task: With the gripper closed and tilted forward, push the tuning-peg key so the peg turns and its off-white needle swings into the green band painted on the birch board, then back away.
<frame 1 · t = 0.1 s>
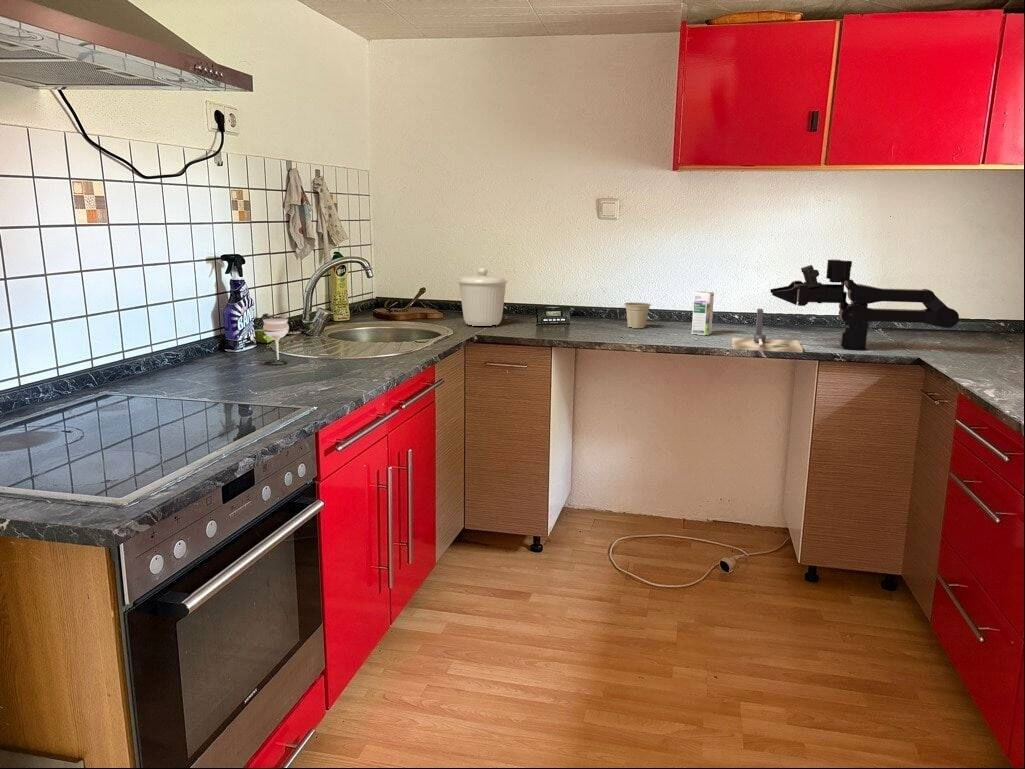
hand: (771, 292, 240), 17 cm above the worktop, tool horizontal, fingers open, 9 cm apart
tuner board: (759, 345, 241), on the worktop
peg: (760, 326, 241), point 6 cm above the worktop, hinge at 0.0°
canister: (482, 325, 282), on the worktop
wineglass: (278, 364, 211), on the worktop
syrup box: (701, 334, 264), on the worktop
flower pot: (636, 328, 278), on the worktop
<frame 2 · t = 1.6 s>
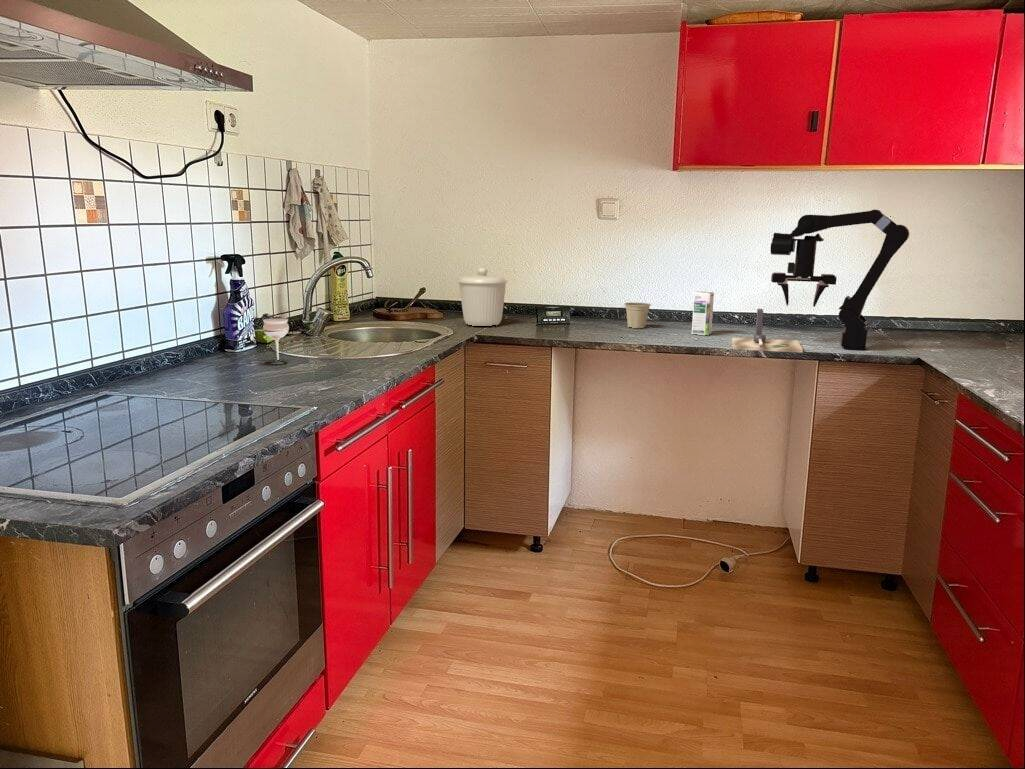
hand: (800, 306, 242), 12 cm above the worktop, tool pointing down, fingers open, 8 cm apart
nothing on the worktop moved.
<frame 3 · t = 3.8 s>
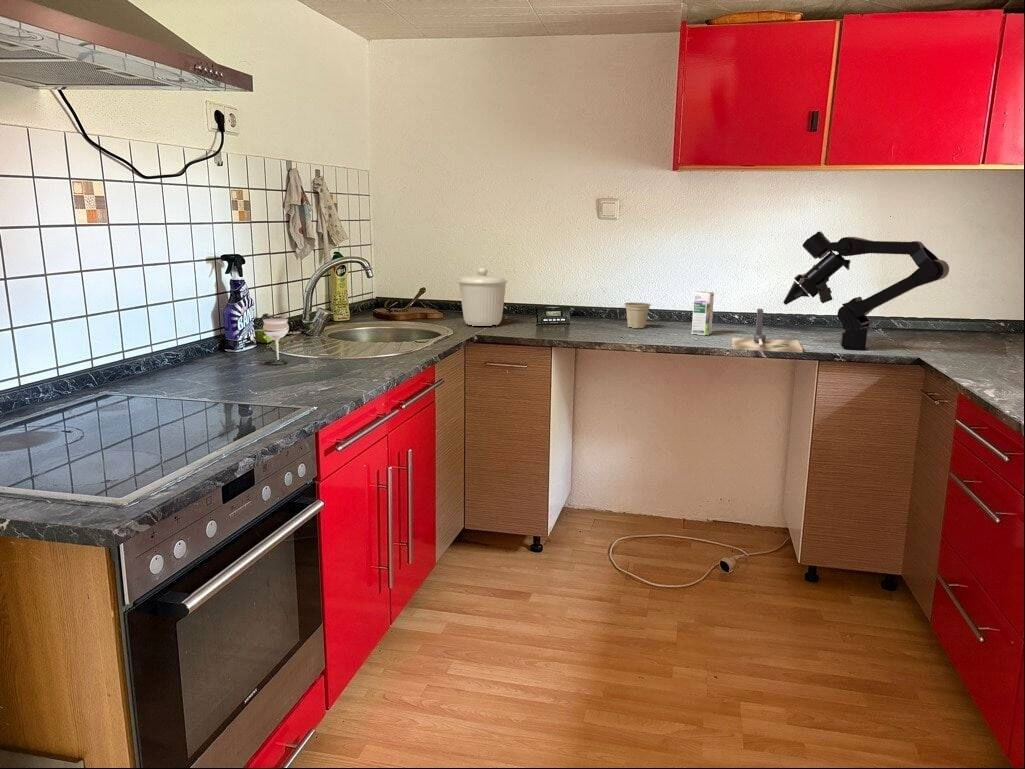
hand: (784, 303, 244), 13 cm above the worktop, tool tilted 45°, fingers closed
nothing on the worktop moved.
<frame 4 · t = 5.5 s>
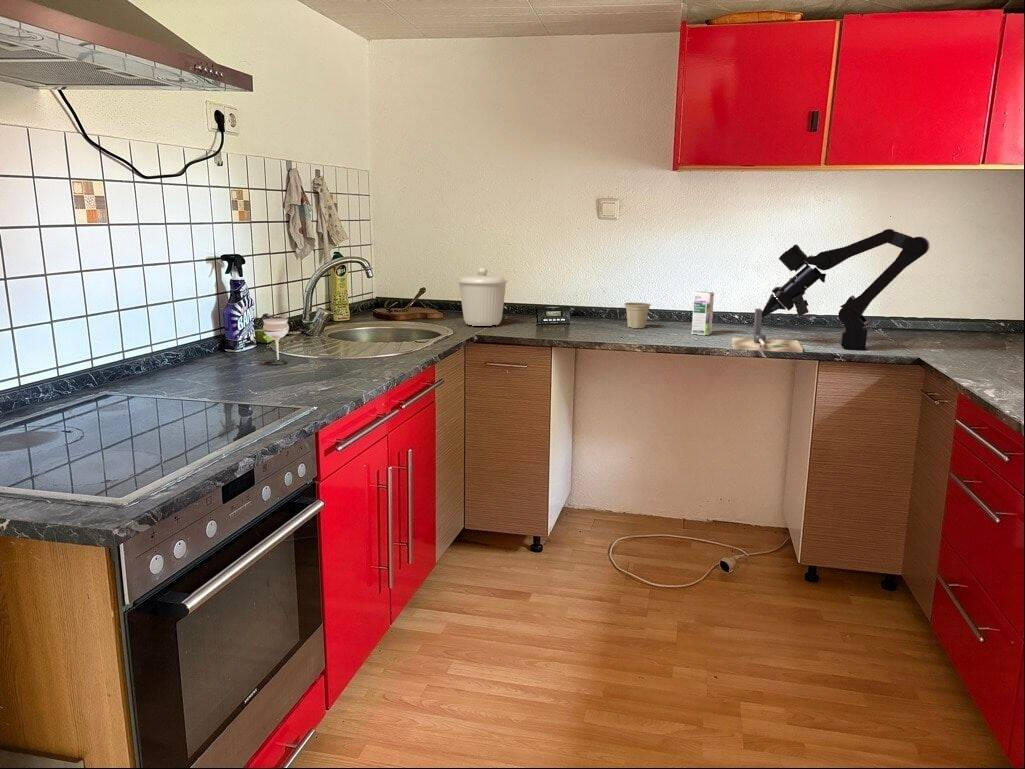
hand: (761, 316, 247), 8 cm above the worktop, tool tilted 45°, fingers closed, pressing on peg
peg: (760, 326, 241), point 6 cm above the worktop, hinge at 3.5°, touching gripper
everything else where it was.
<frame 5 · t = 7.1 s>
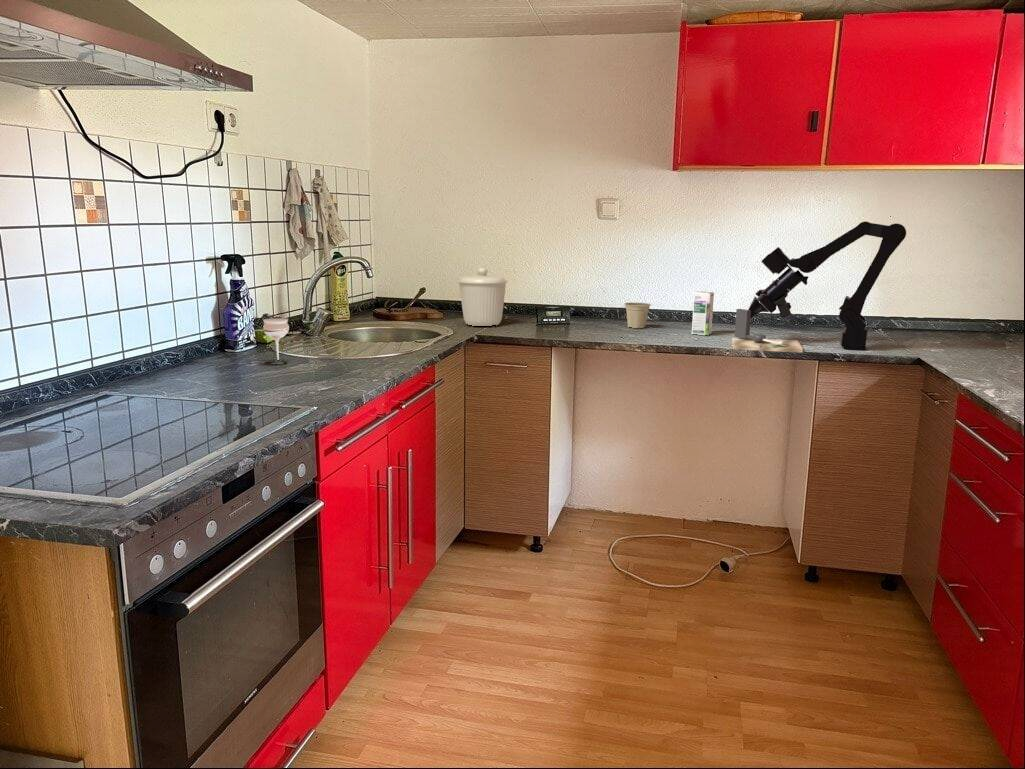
hand: (745, 318, 248), 7 cm above the worktop, tool tilted 45°, fingers closed
peg: (759, 326, 240), point 6 cm above the worktop, hinge at 39.8°, touching gripper
everything else where it was.
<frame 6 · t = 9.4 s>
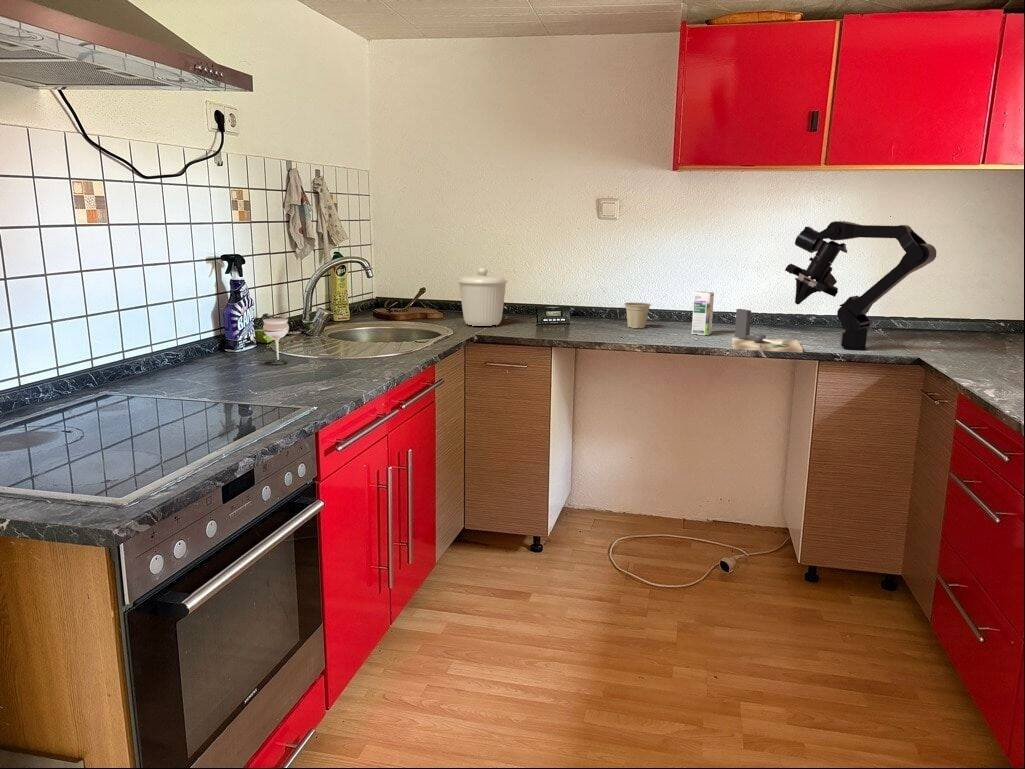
hand: (796, 303, 244), 13 cm above the worktop, tool tilted 25°, fingers closed
peg: (759, 326, 240), point 6 cm above the worktop, hinge at 39.8°
everything else where it was.
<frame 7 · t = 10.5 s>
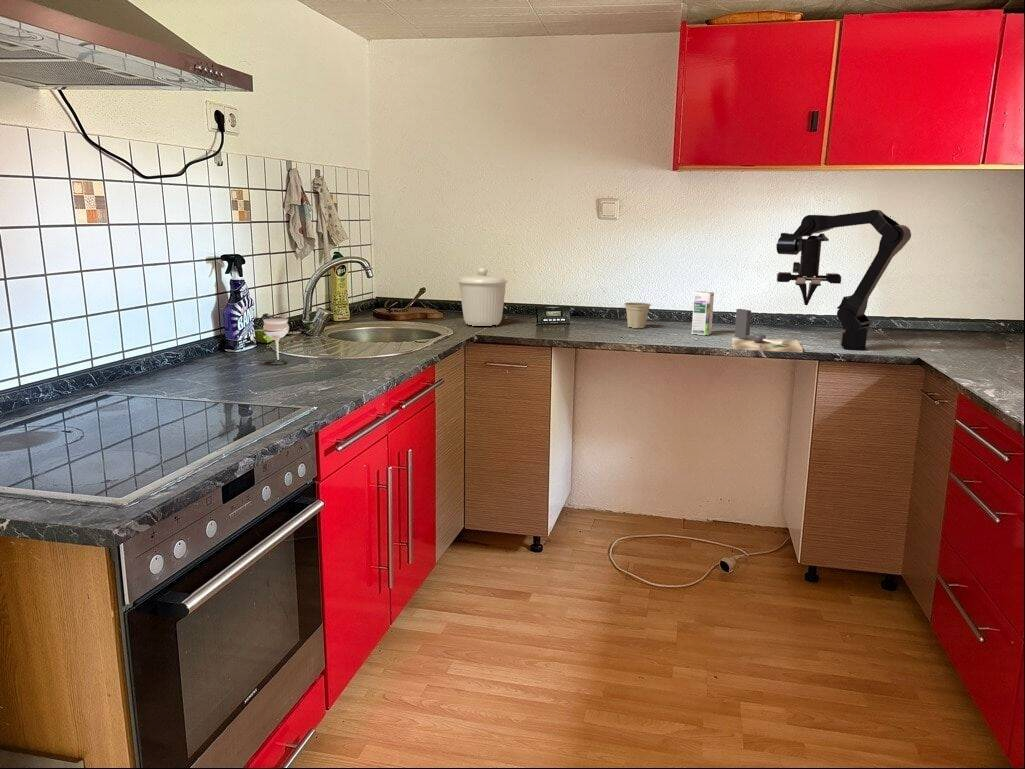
hand: (806, 305, 246), 12 cm above the worktop, tool pointing down, fingers closed
nothing on the worktop moved.
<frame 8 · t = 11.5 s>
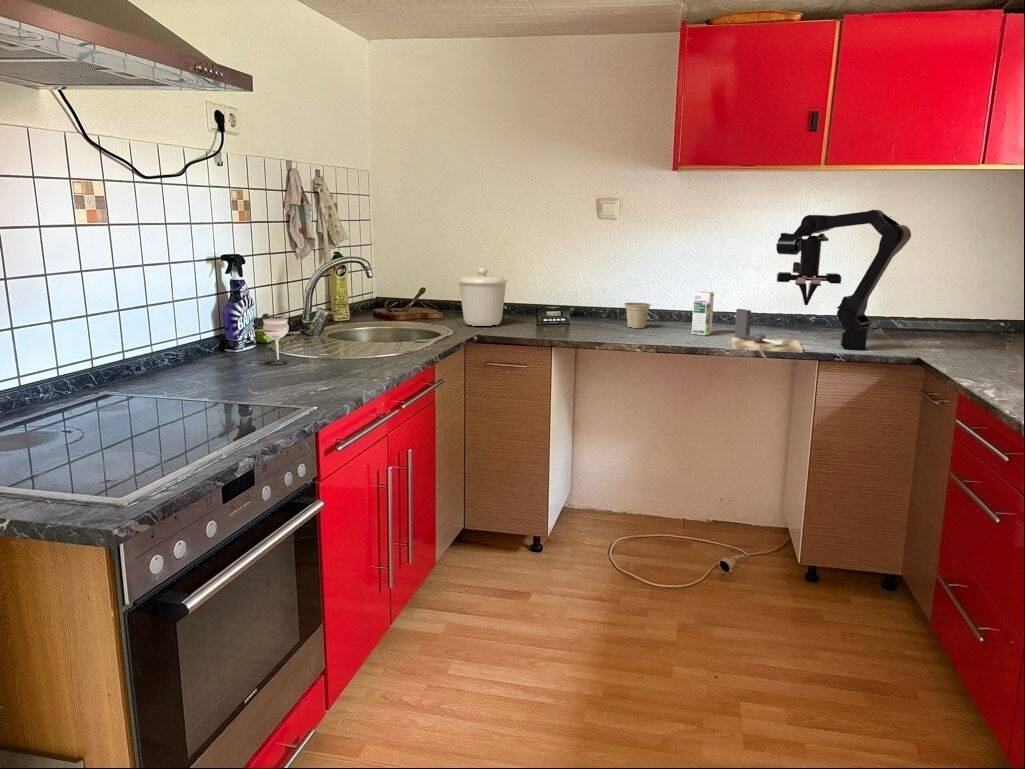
hand: (806, 305, 246), 12 cm above the worktop, tool pointing down, fingers closed
nothing on the worktop moved.
at the end: peg at +40° (first picture: +0°) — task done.
